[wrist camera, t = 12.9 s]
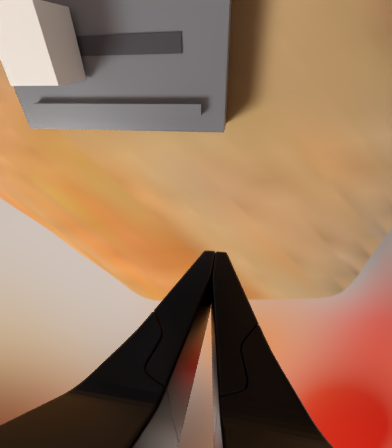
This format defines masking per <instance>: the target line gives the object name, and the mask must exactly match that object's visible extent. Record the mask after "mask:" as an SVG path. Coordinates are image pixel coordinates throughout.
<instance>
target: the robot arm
mask: <svg viewBox="0 0 392 448" xmlns="http://www.w3.org/2000/svg"><path fill="white" fill-rule="evenodd" d="M210 309H211V330H212V331H211V333H212V379H213V381H212V382H213V429H214V448H333V447H332V445H331V444H330V443H329V442H328V441H327V440H326V438H325V437H324V436H323V435H322V433H321V432H320V431H319V429H318V428H317V426H316V425H315V424H314V422H313V421H312V419H311V417H310V416H309V414H308V413H307V411H306V409H305V407H304V406H303V404H302V403H301V401H300V399H299V397H298V396H297V394H296V392H295V391H294V389H293V387H292V386H291V384H290V382H289V381H288V379H287V377H286V376H285V374H284V372H283V371H282V369H281V367H280V365H279V364H278V362H277V360H276V358H275V356H274V355H273V353H272V351H271V349H270V347H269V345H268V343H267V341H266V339H265V337H264V335H263V332H262V330H261V328H260V326H259V325H258V322H257V319H256V317H255V315H254V313H253V311H252V308H251V306H250V304H249V301H248V299H247V297H246V295H245V292H244V290H243V288H242V286H241V284H240V281H239V279H238V277H237V275H236V272H235V270H234V268H233V266H232V263H231V261H230V259H229V257H228V255H227V253H226V252H216V253H215V252H214V251H204V252H203V253H202V254H201V256H200V257H199V258H198V259H197V260H196V261H195V263H194V264H193V265H192V266H191V267H190V269H189V270H188V271H187V272H186V273H185V274H184V276H183V277H182V278H181V279H180V280H179V281H178V283H177V284H176V285H175V286H174V287H173V289H172V290H171V291H170V292H169V293H168V294H167V296H166V297H165V298H164V299H163V300H162V302H161V303H160V304H159V305H158V306H157V308H156V309H155V310H154V312H152V313H151V314H150V316H149V317H148V318H147V319H146V320H145V321H144V323H143V324H142V325H141V326H140V327H139V328H138V329H137V330H136V331H135V332H134V333H133V334H132V335H131V336H130V337H129V338H128V339H127V340H126V341H125V342H124V343H123V344H122V345H121V346H120V347H119V348H118V349H117V350H116V351H115V352H114V353H113V354H112V355H111V356H110V357H108V358H107V359H106V360H105V361H104V362H103V363H102V364H101V365H100V366H99V367H98V368H97V369H96V370H95V371H94V372H93V373H92V374H90V375H89V376H88V377H87V378H86V379H85V380H84V381H82V382H81V383H80V384H79V385H77V386H76V387H75V388H73V389H72V390H70V391H68V392H67V393H65V394H63V395H61V396H59V397H57V398H55V399H53V400H51V401H49V402H47V403H45V404H43V405H41V406H39V407H37V408H35V409H33V410H31V411H29V412H26V413H24V414H22V415H20V416H19V417H16V418H14V419H12V420H10V421H8V422H6V423H4V424H2V425H0V448H178V443H179V441H180V437H181V432H182V428H183V424H184V419H185V415H186V411H187V407H188V403H189V398H190V394H191V390H192V386H193V382H194V377H195V373H196V369H197V365H198V360H199V356H200V352H201V347H202V343H203V339H204V335H205V330H206V327H207V322H208V318H209V313H210Z"/></svg>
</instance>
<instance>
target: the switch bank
mask: <svg viewBox="0 0 392 448" xmlns="http://www.w3.org/2000/svg"><path fill="white" fill-rule="evenodd" d="M43 1H47V2H51V3H55V4H59V5H63V6H67V7H69V10H70V14H71V19H72V23H73V27H74V31H75V35H76V39H77V43H78V47H79V51H80V55H81V59H82V63H83V67H84V71H85V76H86V81H80V82H75V83H70V84H64V85H59V86H14V89H15V91H16V94H17V96H18V99H19V101H20V104H21V106H22V109H23V111H24V114H25V116H26V119H27V121H28V124H29V126H30V128H38V129H86V130H134V131H181V132H224V130H225V126H226V114H227V93H228V72H229V51H230V31H231V10H232V0H43Z"/></svg>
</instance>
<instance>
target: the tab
mask: <svg viewBox="0 0 392 448" xmlns="http://www.w3.org/2000/svg"><path fill="white" fill-rule="evenodd" d="M0 60H1V62H2V65H3V67H4V70H5V72H6V75H7V77H8V79H9V82H10V84H11V86H59V85H64V84H70V83H75V82H80V81H86V76H85V71H84V67H83V63H82V59H81V55H80V51H79V47H78V43H77V39H76V35H75V31H74V27H73V23H72V19H71V14H70V10H69V7H67V6H63V5H59V4H55V3H51V2H47V1H43V0H0Z"/></svg>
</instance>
